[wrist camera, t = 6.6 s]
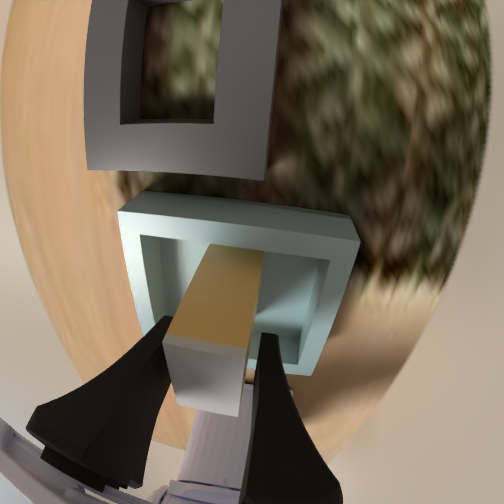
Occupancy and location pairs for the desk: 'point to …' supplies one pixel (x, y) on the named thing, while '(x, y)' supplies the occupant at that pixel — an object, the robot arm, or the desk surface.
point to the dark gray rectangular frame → (181, 130)
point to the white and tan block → (215, 330)
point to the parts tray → (250, 237)
